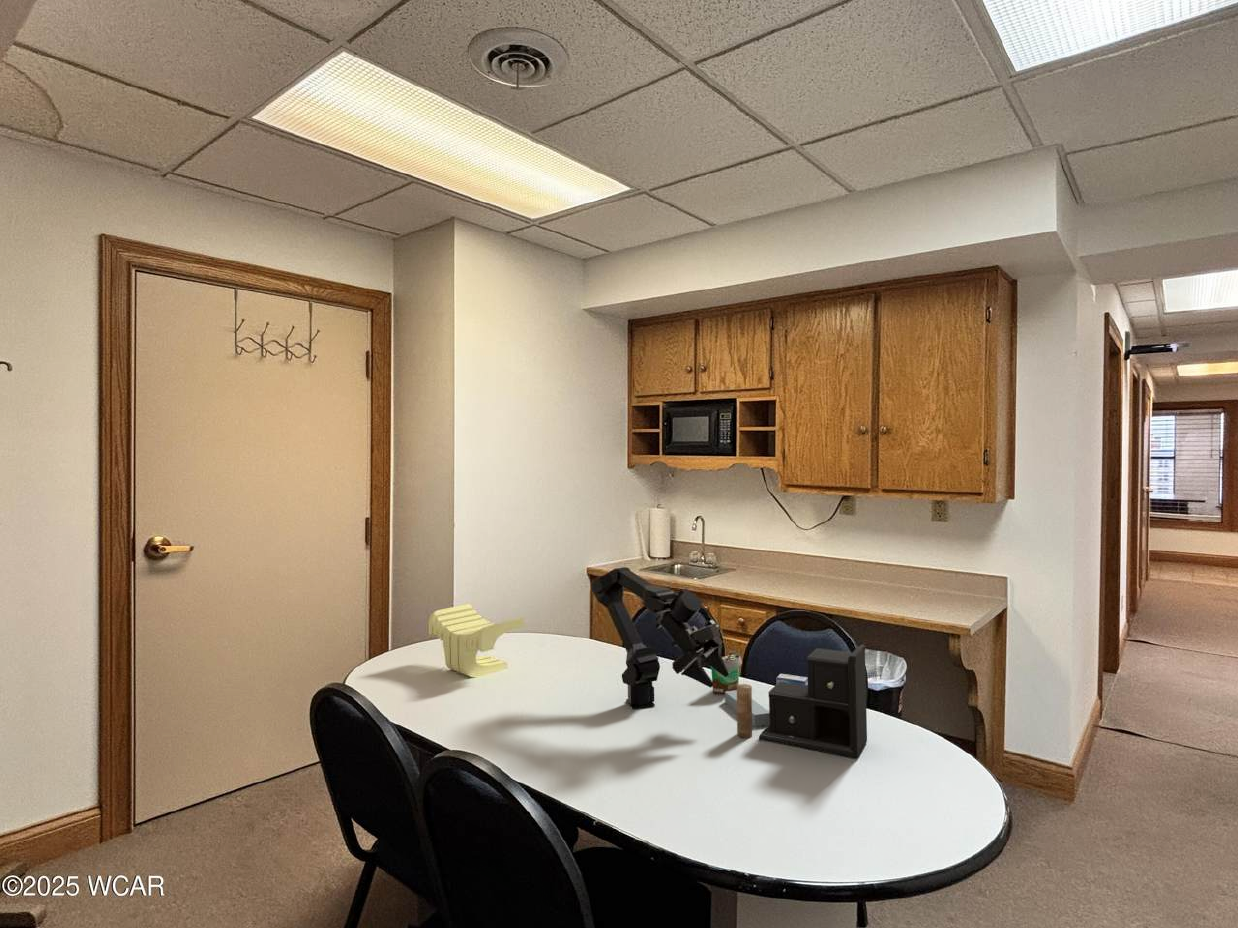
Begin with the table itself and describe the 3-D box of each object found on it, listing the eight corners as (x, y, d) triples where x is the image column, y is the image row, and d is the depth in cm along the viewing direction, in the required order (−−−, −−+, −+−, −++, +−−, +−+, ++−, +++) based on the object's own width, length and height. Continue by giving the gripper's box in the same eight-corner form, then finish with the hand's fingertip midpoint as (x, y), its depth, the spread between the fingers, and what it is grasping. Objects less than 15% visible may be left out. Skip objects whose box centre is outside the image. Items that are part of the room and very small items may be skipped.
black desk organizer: (758, 740, 171) (757, 643, 171) (772, 724, 180) (771, 632, 180) (858, 760, 159) (857, 656, 159) (867, 742, 169) (867, 644, 168)
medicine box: (776, 709, 191) (775, 677, 191) (780, 703, 195) (780, 672, 195) (805, 714, 187) (805, 681, 187) (809, 708, 191) (809, 676, 191)
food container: (729, 699, 199) (729, 663, 199) (710, 694, 202) (709, 660, 202) (749, 687, 209) (749, 653, 208) (731, 683, 212) (730, 649, 212)
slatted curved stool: (429, 665, 234) (428, 611, 233) (470, 655, 245) (469, 603, 245) (482, 686, 213) (481, 627, 212) (524, 673, 224) (523, 617, 224)
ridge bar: (754, 726, 179) (754, 714, 179) (725, 702, 196) (724, 691, 196) (770, 724, 180) (770, 712, 180) (740, 700, 198) (739, 689, 198)
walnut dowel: (741, 738, 172) (740, 689, 171) (734, 733, 175) (734, 684, 175) (754, 736, 173) (754, 688, 172) (748, 731, 176) (747, 683, 176)
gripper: (682, 619, 172) (725, 671, 166) (715, 604, 187) (755, 652, 182) (654, 647, 176) (695, 699, 170) (688, 630, 192) (727, 677, 186)
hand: (720, 680), depth 177 cm, fingers open, 9 cm apart
